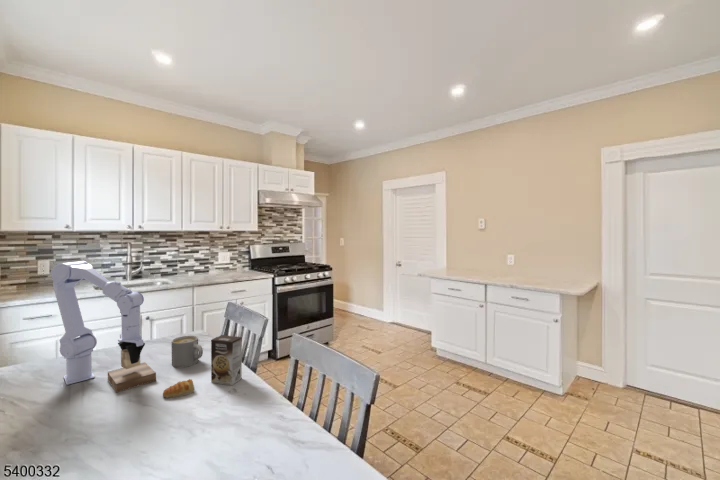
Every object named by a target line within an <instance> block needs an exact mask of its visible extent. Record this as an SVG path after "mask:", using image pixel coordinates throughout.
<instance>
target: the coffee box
mask: <svg viewBox="0 0 720 480" xmlns="http://www.w3.org/2000/svg"><path fill="white" fill-rule="evenodd" d="M210 340H211V342H210V350H211V351H210V353H211V354H210V357H211V358H210V360H211V361H210V362H211V364H210V365H211V366H210V368H211V369H210V371H211V372H210V374H211V375H210V377H211V380H210V381H211V384H212V383H213V384H219V385H226V386H233V385H235V384H236V383H238V382H239V381H240V380H241V379H242V377H243V376H242V373H243V372H242V369H243V368H242V366H243V365H242V364H243V363H242V361H243V358H242V357H243V356H242V354H243V349H242V348H243V336H234V335H225V334H221V335H218V336H216V337H214V338H212V339H210Z"/></svg>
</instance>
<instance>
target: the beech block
mask: <svg viewBox="0 0 720 480" xmlns="http://www.w3.org/2000/svg"><path fill="white" fill-rule="evenodd" d="M140 363H141V356H140V357H139V361H138V362H137V363H134V364H131V361H130V356H129V352H128V350H127V349H124V350H122V349H121V350H120V364H121V368H125V369H129V368H132V367H135V366H138V365H140Z"/></svg>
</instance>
